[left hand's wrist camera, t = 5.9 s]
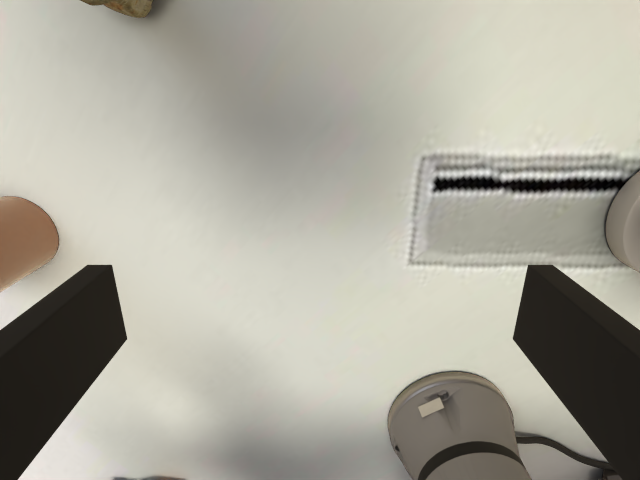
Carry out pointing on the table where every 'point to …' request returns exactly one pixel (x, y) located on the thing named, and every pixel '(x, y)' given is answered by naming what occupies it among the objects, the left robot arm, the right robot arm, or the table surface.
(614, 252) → the bust sculpture
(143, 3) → the sculpture
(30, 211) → the bottle
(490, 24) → the table surface
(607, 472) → the toy
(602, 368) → the left robot arm
